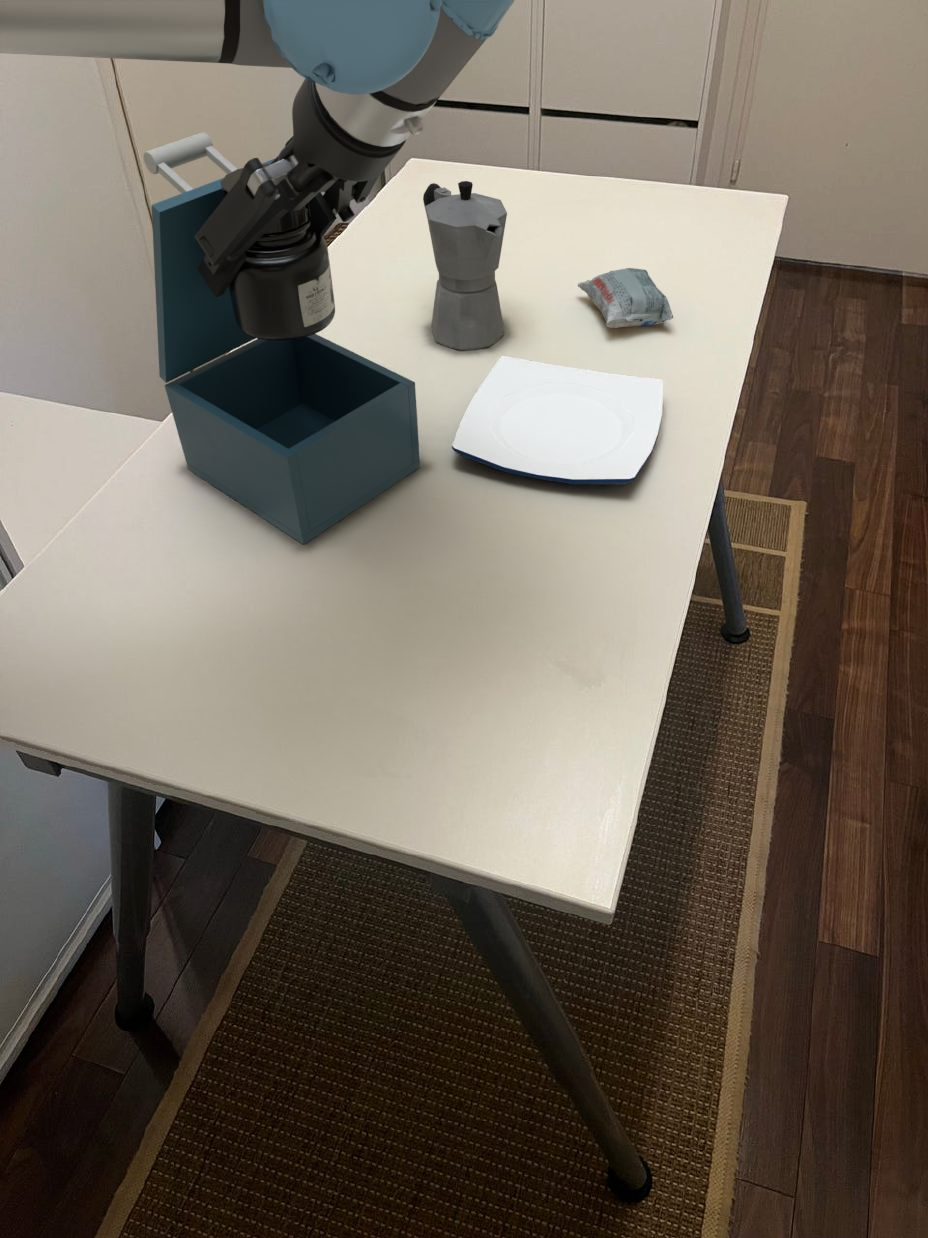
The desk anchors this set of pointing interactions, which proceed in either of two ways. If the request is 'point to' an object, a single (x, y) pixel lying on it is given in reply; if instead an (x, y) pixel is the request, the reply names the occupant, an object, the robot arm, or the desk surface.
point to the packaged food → (628, 298)
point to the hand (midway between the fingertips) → (254, 261)
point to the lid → (188, 265)
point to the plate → (562, 423)
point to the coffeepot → (465, 265)
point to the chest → (297, 430)
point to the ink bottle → (283, 278)
